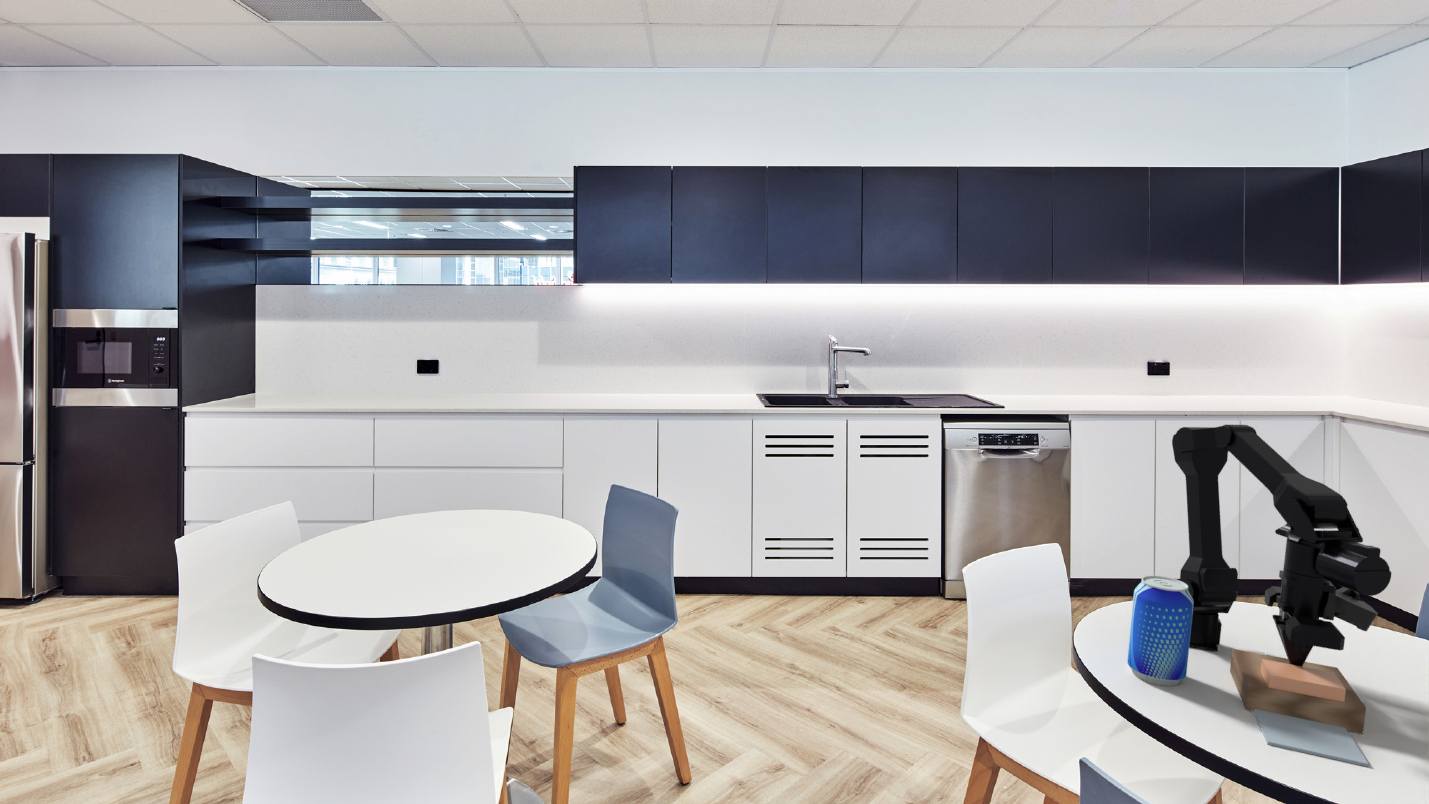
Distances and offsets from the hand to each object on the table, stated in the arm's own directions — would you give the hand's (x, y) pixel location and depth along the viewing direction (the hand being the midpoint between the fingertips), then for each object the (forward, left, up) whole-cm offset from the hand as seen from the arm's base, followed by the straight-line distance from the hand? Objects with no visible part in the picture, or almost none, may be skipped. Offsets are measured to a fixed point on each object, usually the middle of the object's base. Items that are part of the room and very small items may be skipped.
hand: (1295, 668), depth 117 cm
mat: (-1, -12, -5) cm, 13 cm away
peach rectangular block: (0, -4, -1) cm, 4 cm away
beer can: (-19, -1, -5) cm, 19 cm away
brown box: (0, 0, -5) cm, 5 cm away
